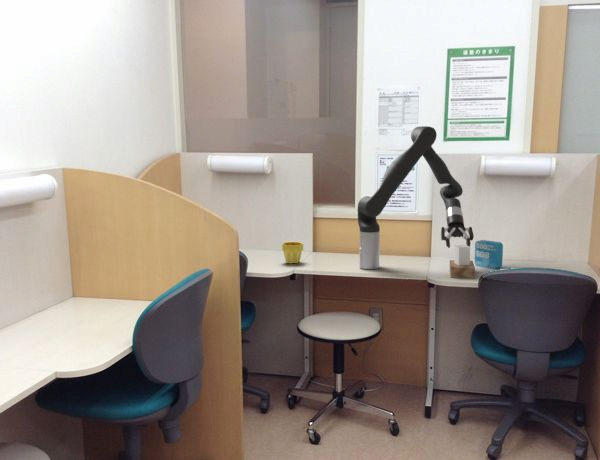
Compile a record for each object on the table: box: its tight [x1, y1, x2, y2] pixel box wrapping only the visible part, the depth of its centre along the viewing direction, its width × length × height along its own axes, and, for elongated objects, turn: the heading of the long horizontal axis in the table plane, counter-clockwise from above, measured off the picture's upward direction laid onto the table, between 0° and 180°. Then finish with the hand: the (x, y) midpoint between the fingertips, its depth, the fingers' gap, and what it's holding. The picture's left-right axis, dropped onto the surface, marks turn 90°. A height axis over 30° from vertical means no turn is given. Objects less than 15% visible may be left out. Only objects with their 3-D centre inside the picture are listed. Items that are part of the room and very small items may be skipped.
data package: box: [473, 239, 504, 270], centre depth 273 cm, size 12×4×12 cm, turn 40°
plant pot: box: [281, 241, 304, 264], centre depth 288 cm, size 10×10×10 cm
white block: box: [453, 244, 471, 265], centre depth 259 cm, size 5×6×8 cm
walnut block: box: [449, 259, 476, 280], centre depth 260 cm, size 10×16×5 cm, turn 168°
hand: (458, 246), depth 266 cm, fingers open, 8 cm apart
